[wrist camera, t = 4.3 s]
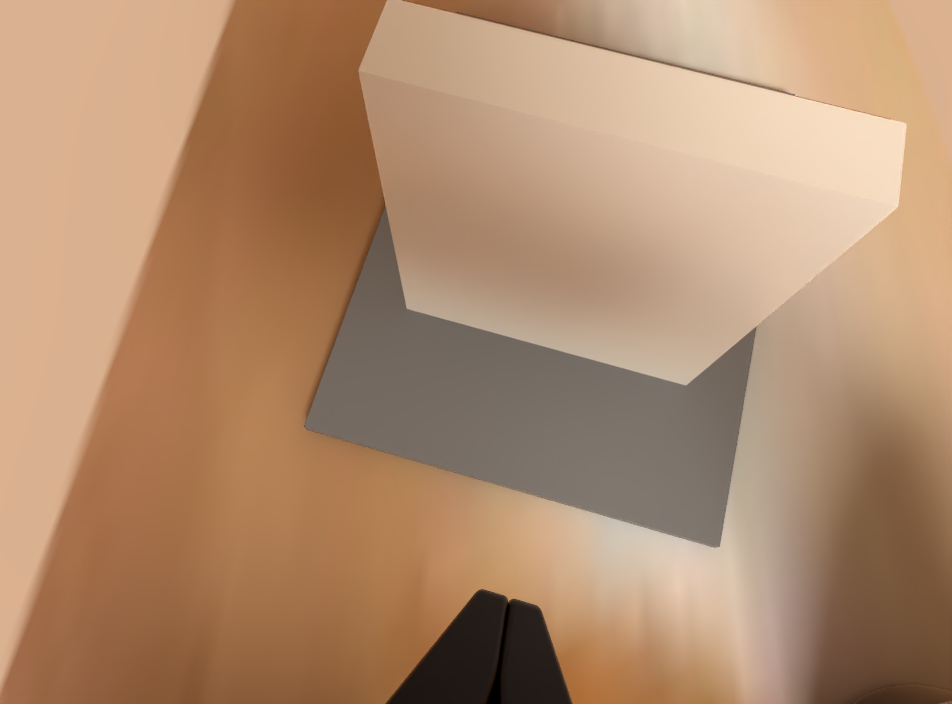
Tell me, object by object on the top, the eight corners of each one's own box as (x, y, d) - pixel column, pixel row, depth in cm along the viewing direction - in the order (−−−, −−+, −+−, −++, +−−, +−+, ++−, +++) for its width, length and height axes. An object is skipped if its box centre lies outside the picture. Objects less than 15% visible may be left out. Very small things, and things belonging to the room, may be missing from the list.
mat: (713, 547, 22) (719, 546, 22) (307, 429, 23) (303, 426, 23) (789, 102, 28) (795, 94, 27) (456, 21, 29) (457, 12, 28)
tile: (686, 385, 24) (898, 206, 12) (406, 309, 24) (357, 70, 13) (696, 332, 24) (907, 114, 13) (423, 259, 25) (391, -11, 13)
